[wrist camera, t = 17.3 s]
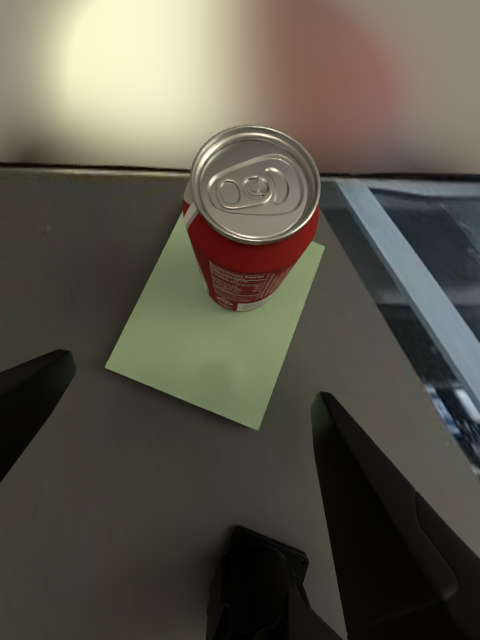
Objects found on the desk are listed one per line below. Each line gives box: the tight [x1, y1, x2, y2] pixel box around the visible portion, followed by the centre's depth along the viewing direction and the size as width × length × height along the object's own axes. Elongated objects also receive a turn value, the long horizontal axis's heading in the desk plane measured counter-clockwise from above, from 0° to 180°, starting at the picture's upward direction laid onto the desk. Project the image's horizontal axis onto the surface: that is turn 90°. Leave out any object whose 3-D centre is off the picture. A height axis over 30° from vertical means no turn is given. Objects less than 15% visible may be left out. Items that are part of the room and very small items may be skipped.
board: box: [105, 211, 325, 431], centre depth 22 cm, size 14×18×2 cm
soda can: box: [183, 125, 321, 312], centre depth 16 cm, size 7×7×12 cm
